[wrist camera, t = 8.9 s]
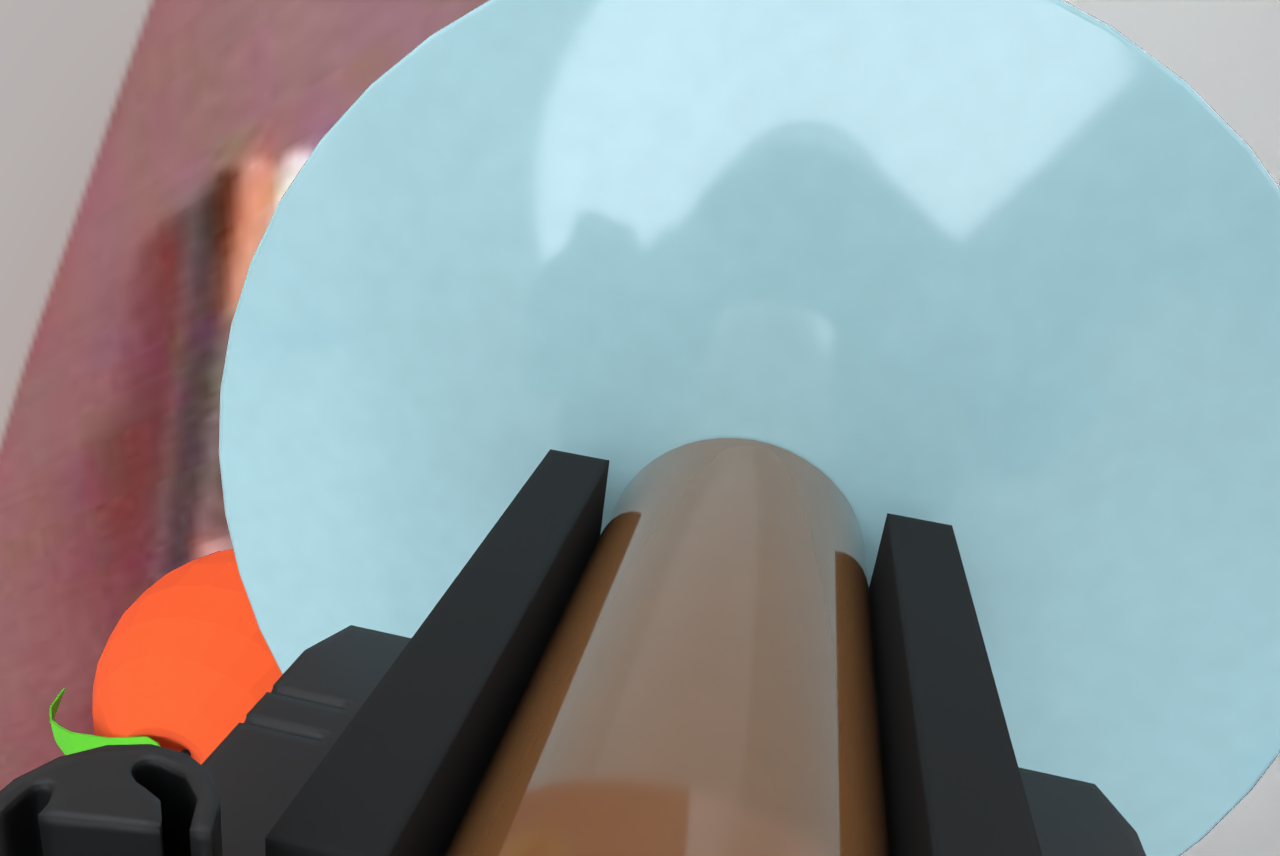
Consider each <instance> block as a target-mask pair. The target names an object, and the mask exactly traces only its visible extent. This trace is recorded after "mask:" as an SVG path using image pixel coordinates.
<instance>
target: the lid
mask: <svg viewBox="0 0 1280 856" xmlns="http://www.w3.org/2000/svg"><path fill="white" fill-rule="evenodd" d="M550 449H552V450H557V451H562V452H568V453H573V454H578V455H584V456H589V457H594V458H599V459H605V460H610V461H609V469H608V477H607V485H606V493H605V501H604V509H603V517H602V526H601V534H600V537H599V539H598V541H597V543H596V545H595V547H594V549H593V551H592V553H591V555H590V557H589V559H588V561H587V563H586V565H585V567H584V569H583V572H582V574H581V576H580V578H579V580H578V582H577V584H576V586H575V588H574V590H573V592H572V594H571V596H570V598H569V600H568V602H567V604H566V606H565V608H564V610H563V612H562V614H561V616H560V619H559V621H558V623H557V625H556V627H555V629H554V631H553V633H552V635H551V637H550V639H549V641H548V643H547V645H546V647H545V649H544V651H543V653H542V655H541V657H540V659H539V661H538V663H537V666H536V668H535V670H534V672H533V674H532V676H531V678H530V680H529V682H528V684H527V686H526V688H525V690H524V692H523V694H522V696H521V698H520V700H519V702H518V704H517V706H516V708H515V711H514V713H513V715H512V717H511V719H510V721H509V723H508V725H507V727H506V729H505V731H504V733H503V735H502V737H501V739H500V741H499V743H498V745H497V747H496V749H495V751H494V753H493V755H492V758H491V760H490V762H489V764H488V766H487V768H486V770H485V772H484V774H483V776H482V778H481V780H480V782H479V784H478V786H477V788H476V790H475V792H474V794H473V796H472V798H471V800H470V802H469V805H468V807H467V809H466V811H465V813H464V815H463V817H462V819H461V821H460V823H459V825H458V827H457V829H456V831H455V833H454V835H453V837H452V839H451V841H450V843H449V845H448V847H447V849H446V852H445V854H444V856H890V846H889V834H888V821H887V809H886V797H885V784H884V772H883V759H882V747H881V735H880V722H879V710H878V698H877V685H876V673H875V661H874V648H873V636H872V624H871V611H870V599H869V586H870V582H871V578H872V574H873V570H874V566H875V562H876V558H877V553H878V549H879V545H880V541H881V537H882V533H883V529H884V525H885V521H886V517H887V513H889V514H895V515H900V516H905V517H911V518H916V519H921V520H926V521H932V522H937V523H942V524H947V525H952V527H953V530H954V534H955V538H956V541H957V545H958V549H959V552H960V556H961V560H962V563H963V567H964V571H965V574H966V578H967V581H968V585H969V589H970V592H971V596H972V600H973V603H974V607H975V611H976V614H977V618H978V622H979V625H980V629H981V633H982V636H983V640H984V644H985V647H986V651H987V655H988V658H989V662H990V665H991V669H992V673H993V676H994V680H995V684H996V687H997V691H998V695H999V698H1000V702H1001V706H1002V709H1003V713H1004V717H1005V720H1006V724H1007V728H1008V731H1009V735H1010V739H1011V742H1012V746H1013V749H1014V753H1015V757H1016V760H1017V764H1018V767H1020V768H1024V769H1029V770H1033V771H1038V772H1043V773H1047V774H1052V775H1056V776H1061V777H1065V778H1070V779H1075V780H1079V781H1084V782H1088V783H1093V784H1095V785H1096V786H1097V787H1098V788H1099V789H1100V790H1101V791H1102V793H1103V794H1104V795H1105V796H1106V797H1107V798H1108V800H1109V801H1110V802H1111V803H1112V804H1113V805H1114V807H1115V808H1116V809H1117V810H1118V811H1119V812H1120V813H1121V815H1122V816H1123V817H1124V818H1125V819H1126V820H1127V822H1128V823H1129V824H1130V825H1131V826H1132V827H1133V828H1134V830H1135V831H1136V832H1137V834H1138V837H1139V839H1140V842H1141V844H1142V847H1143V849H1144V851H1145V854H1146V856H1180V855H1182V854H1183V853H1184V852H1186V851H1187V850H1188V849H1189V848H1191V847H1192V846H1193V845H1195V844H1196V843H1197V842H1199V841H1200V840H1201V839H1202V838H1203V837H1204V836H1206V835H1207V834H1208V833H1209V832H1210V831H1211V830H1212V829H1213V828H1214V827H1215V826H1216V825H1217V824H1218V823H1219V822H1220V821H1221V820H1222V819H1223V818H1224V817H1225V816H1226V815H1227V814H1228V813H1229V812H1230V811H1231V810H1232V809H1233V808H1234V807H1235V806H1236V805H1237V804H1238V803H1239V802H1240V801H1241V800H1242V799H1243V798H1244V797H1245V796H1246V795H1247V794H1248V793H1249V792H1250V791H1251V790H1252V788H1253V787H1254V786H1255V785H1256V783H1257V782H1258V781H1259V779H1260V778H1261V777H1262V775H1263V774H1264V773H1265V771H1266V770H1267V769H1268V768H1269V766H1270V765H1271V764H1272V762H1273V761H1274V760H1275V758H1276V757H1277V756H1278V754H1279V753H1280V188H1279V187H1278V186H1277V184H1276V183H1275V181H1274V180H1273V179H1272V177H1271V176H1270V174H1269V173H1268V171H1267V170H1266V169H1265V167H1264V166H1263V164H1262V163H1261V162H1260V160H1259V159H1258V157H1257V156H1256V155H1255V153H1254V152H1253V150H1252V149H1251V147H1250V146H1249V145H1248V144H1247V143H1246V142H1245V141H1244V140H1243V139H1242V138H1241V137H1240V136H1239V135H1238V134H1237V133H1236V132H1235V131H1234V130H1233V129H1232V128H1231V127H1230V126H1229V125H1228V124H1227V123H1226V122H1225V121H1224V120H1223V119H1222V118H1221V117H1220V116H1219V115H1218V114H1217V113H1216V111H1215V110H1214V109H1213V108H1212V107H1211V106H1210V105H1209V104H1208V103H1207V102H1206V101H1205V100H1204V99H1203V98H1202V97H1201V96H1200V95H1199V94H1198V93H1197V92H1196V91H1195V90H1194V89H1193V88H1192V87H1191V86H1190V85H1189V84H1188V83H1187V82H1186V81H1185V80H1183V79H1182V78H1181V77H1179V76H1178V75H1177V74H1175V73H1174V72H1173V71H1171V70H1170V69H1168V68H1167V67H1166V66H1164V65H1163V64H1162V63H1160V62H1159V61H1158V60H1156V59H1155V58H1154V57H1152V56H1151V55H1150V54H1148V53H1147V52H1146V51H1144V50H1143V49H1142V48H1140V47H1139V46H1138V45H1136V44H1135V43H1134V42H1132V41H1131V40H1129V39H1128V38H1127V37H1125V36H1124V35H1123V34H1121V33H1120V32H1119V31H1117V30H1116V29H1115V28H1113V27H1112V26H1110V25H1108V24H1106V23H1104V22H1103V21H1101V20H1099V19H1097V18H1095V17H1093V16H1091V15H1089V14H1087V13H1086V12H1084V11H1082V10H1080V9H1078V8H1076V7H1074V6H1072V5H1070V4H1069V3H1067V2H1065V1H1063V0H488V1H487V2H485V3H483V4H482V5H480V6H478V7H477V8H475V9H473V10H472V11H470V12H468V13H467V14H465V15H463V16H462V17H460V18H458V19H457V20H455V21H453V22H452V23H450V24H448V25H447V26H445V27H443V28H442V29H440V30H438V31H437V32H435V33H433V34H432V35H430V36H429V37H428V38H427V39H425V40H424V41H423V42H422V43H421V44H419V45H418V46H417V47H416V48H415V49H413V50H412V51H411V52H410V53H408V54H407V55H406V56H405V57H404V58H402V59H401V60H400V61H399V62H397V63H396V64H395V65H394V66H393V67H391V68H390V69H389V70H388V71H386V72H385V73H384V74H383V75H382V76H380V77H379V78H378V79H377V80H376V81H374V82H373V83H372V84H371V85H370V86H369V87H368V88H367V89H366V90H365V91H364V93H363V94H362V95H361V96H360V97H359V98H358V99H357V100H356V101H355V102H354V104H353V105H352V106H351V107H350V108H349V109H348V110H347V111H346V112H345V113H344V115H343V116H342V117H341V118H340V119H339V120H338V121H337V122H336V123H335V124H334V126H333V127H332V128H331V129H330V130H329V131H328V132H327V133H326V134H325V136H324V137H323V138H322V139H321V140H320V142H319V143H318V145H317V146H316V148H315V149H314V151H313V152H312V154H311V155H310V157H309V158H308V160H307V161H306V163H305V164H304V166H303V167H302V169H301V170H300V171H299V173H298V174H297V176H296V177H295V179H294V180H293V182H292V183H291V185H290V186H289V188H288V189H287V191H286V192H285V194H284V195H283V197H282V198H281V200H280V202H279V204H278V207H277V209H276V211H275V213H274V215H273V217H272V219H271V221H270V223H269V225H268V228H267V230H266V232H265V234H264V236H263V238H262V240H261V242H260V244H259V246H258V249H257V251H256V253H255V255H254V257H253V259H252V261H251V263H250V267H249V270H248V273H247V276H246V280H245V283H244V286H243V289H242V292H241V296H240V299H239V302H238V305H237V308H236V312H235V315H234V318H233V321H232V325H231V329H230V335H229V341H228V347H227V354H226V360H225V366H224V372H223V378H222V384H221V392H220V430H219V459H220V468H221V478H222V487H223V497H224V506H225V515H226V519H227V524H228V528H229V532H230V536H231V541H232V545H233V549H234V553H235V558H236V562H237V566H238V570H239V574H240V577H241V580H242V582H243V585H244V588H245V591H246V593H247V596H248V599H249V601H250V604H251V607H252V610H253V612H254V615H255V618H256V621H257V623H258V626H259V629H260V631H261V633H262V635H263V637H264V639H265V641H266V643H267V645H268V647H269V649H270V651H271V653H272V655H273V657H274V659H275V661H276V663H277V665H278V667H279V669H280V671H281V673H282V675H283V674H284V672H285V671H286V670H287V669H288V668H289V667H290V666H291V665H292V664H293V663H294V661H295V660H296V659H297V658H298V657H299V656H300V655H301V654H302V653H303V651H304V650H306V649H308V648H310V647H311V646H313V645H315V644H317V643H319V642H321V641H322V640H324V639H326V638H328V637H330V636H332V635H334V634H335V633H337V632H339V631H341V630H343V629H345V628H347V627H348V626H350V625H353V626H358V627H362V628H367V629H371V630H376V631H380V632H385V633H390V634H394V635H399V636H403V637H408V638H412V637H413V636H414V634H415V633H416V632H417V630H418V629H419V627H420V626H421V625H422V623H423V622H424V621H425V619H426V618H427V617H428V615H429V614H430V612H431V611H432V610H433V608H434V607H435V606H436V604H437V603H438V602H439V600H440V599H441V597H442V596H443V595H444V593H445V592H446V591H447V589H448V588H449V587H450V585H451V584H452V582H453V581H454V580H455V578H456V577H457V576H458V574H459V573H460V572H461V570H462V569H463V567H464V566H465V565H466V563H467V562H468V561H469V559H470V558H471V557H472V555H473V554H474V552H475V551H476V550H477V548H478V547H479V546H480V544H481V543H482V542H483V540H484V539H485V537H486V536H487V535H488V533H489V532H490V531H491V529H492V528H493V527H494V525H495V524H496V523H497V521H498V520H499V518H500V517H501V516H502V514H503V513H504V512H505V510H506V509H507V508H508V506H509V505H510V503H511V502H512V501H513V499H514V498H515V497H516V495H517V494H518V493H519V491H520V490H521V488H522V487H523V486H524V484H525V483H526V482H527V480H528V479H529V478H530V476H531V475H532V473H533V472H534V471H535V469H536V468H537V467H538V465H539V464H540V463H541V461H542V460H543V458H544V457H545V456H546V454H547V453H548V452H549V450H550Z"/></svg>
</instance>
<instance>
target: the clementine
mask: <svg viewBox="0 0 1280 856" xmlns="http://www.w3.org/2000/svg"><path fill="white" fill-rule="evenodd" d="M281 676H282V673H281V671H280V669H279V667H278V665H277V663H276V661H275V659H274V657H273V655H272V653H271V651H270V649H269V647H268V645H267V643H266V641H265V639H264V637H263V635H262V633H261V631H260V629H259V626H258V623H257V621H256V618H255V615H254V612H253V610H252V607H251V604H250V601H249V599H248V596H247V593H246V591H245V588H244V585H243V582H242V580H241V577H240V574H239V570H238V566H237V562H236V558H235V553H234V550H225V551H218V552H215V553H213V554H210V555H207V556H204V557H201V558H198V559H196V560H193V561H191V562H189V563H187V564H185V565H183V566H181V567H179V568H177V569H175V570H173V571H171V572H169V573H168V574H166V575H165V576H163V577H162V578H161V579H160V580H158V581H157V582H156V583H155V584H153V585H152V586H151V587H150V588H148V589H147V590H146V591H145V592H144V593H143V594H142V595H141V596H140V597H139V598H138V599H137V600H136V601H135V602H134V603H133V604H132V605H131V606H130V607H129V608H128V609H127V610H126V612H125V613H124V614H123V615H122V617H121V619H120V620H119V622H118V624H117V625H116V627H115V629H114V630H113V632H112V634H111V635H110V637H109V639H108V642H107V644H106V646H105V648H104V651H103V653H102V655H101V657H100V660H99V662H98V665H97V671H96V676H95V681H94V686H93V722H94V731H95V735H89V734H81V733H74V732H70V731H69V730H67V729H65V728H63V727H61V726H60V725H58V724H57V723H56V722H55V720H54V717H55V714H56V711H57V709H58V706H59V703H60V701H61V698H62V695H63V693H64V690H65V688H63V689H62V691H61V692H60V694H59V695H58V696H57V698H56V699H55V700H54V702H53V703H52V705H51V706H50V707H49V710H50V723H51V726H52V730H53V734H54V738H55V741H56V743H57V744H58V746H59V747H60V748H61V750H62V751H63V753H64V754H65V755H69V754H73V753H77V752H81V751H85V750H89V749H93V748H97V747H101V746H105V745H131V744H152V745H156V746H160V747H164V748H168V749H171V750H175V751H179V752H183V753H187V754H188V755H189V756H191V757H192V758H193V759H194V760H196V761H197V762H198V763H199V764H202V763H203V762H204V761H205V760H206V759H207V758H208V757H209V756H210V754H211V753H212V752H213V751H214V750H215V749H216V748H217V747H218V746H219V744H220V743H221V742H222V741H223V740H224V739H225V738H226V737H227V736H228V734H229V733H230V732H231V731H232V730H233V729H234V728H235V727H236V726H237V725H238V723H239V722H240V723H244V721H245V719H246V715H247V713H248V712H249V711H250V710H251V709H252V708H253V707H254V706H255V705H256V703H257V702H258V701H259V700H260V699H261V698H262V697H263V696H264V695H265V694H266V692H269V693H271V691H272V689H273V685H274V684H275V682H276V681H277V680H278V679H279V678H280V677H281Z"/></svg>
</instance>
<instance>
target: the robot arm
mask: <svg viewBox="0 0 1280 856" xmlns="http://www.w3.org/2000/svg"><path fill="white" fill-rule="evenodd" d="M609 461H610V460H605V459H599V458H594V457H589V456H584V455H578V454H573V453H568V452H562V451H557V450H552V449H550V450H549V452H548V453H547V454H546V456H545V457H544V458H543V460H542V461H541V463H540V464H539V465H538V467H537V468H536V469H535V471H534V472H533V473H532V475H531V476H530V478H529V479H528V480H527V482H526V483H525V484H524V486H523V487H522V488H521V490H520V491H519V493H518V494H517V495H516V497H515V498H514V499H513V501H512V502H511V503H510V505H509V506H508V508H507V509H506V510H505V512H504V513H503V514H502V516H501V517H500V518H499V520H498V521H497V523H496V524H495V525H494V527H493V528H492V529H491V531H490V532H489V533H488V535H487V536H486V537H485V539H484V540H483V542H482V543H481V544H480V546H479V547H478V548H477V550H476V551H475V552H474V554H473V555H472V557H471V558H470V559H469V561H468V562H467V563H466V565H465V566H464V567H463V569H462V570H461V572H460V573H459V574H458V576H457V577H456V578H455V580H454V581H453V582H452V584H451V585H450V587H449V588H448V589H447V591H446V592H445V593H444V595H443V596H442V597H441V599H440V600H439V602H438V603H437V604H436V606H435V607H434V608H433V610H432V611H431V612H430V614H429V615H428V617H427V618H426V619H425V621H424V622H423V623H422V625H421V626H420V627H419V629H418V630H417V632H416V633H415V634H414V636H413V637H412V638H408V637H403V636H399V635H394V634H390V633H385V632H380V631H376V630H371V629H367V628H362V627H358V626H353V625H350V626H348V627H347V628H345V629H343V630H341V631H339V632H337V633H335V634H334V635H332V636H330V637H328V638H326V639H324V640H322V641H321V642H319V643H317V644H315V645H313V646H311V647H310V648H308V649H306V650H304V651H303V653H302V654H301V655H300V656H299V657H298V658H297V659H296V660H295V661H294V663H293V664H292V665H291V666H290V667H289V668H288V669H287V670H286V671H285V672H284V674H283V675H282V676H281V677H280V678H279V679H278V680H277V681H276V682H275V684H274V685H273V689H272V691H271V693H269V692H266V694H265V695H264V696H263V697H262V698H261V699H260V700H259V701H258V702H257V703H256V705H255V706H254V707H253V708H252V709H251V710H250V711H249V712H248V713H247V715H246V719H245V721H244V723H240V722H239V723H238V725H237V726H236V727H235V728H234V729H233V730H232V731H231V732H230V733H229V734H228V736H227V737H226V738H225V739H224V740H223V741H222V742H221V743H220V744H219V746H218V747H217V748H216V749H215V750H214V751H213V752H212V753H211V754H210V756H209V757H208V758H207V759H206V760H205V761H204V762H203V763H202V764H199V763H198V762H197V761H196V760H194V759H193V758H192V757H191V756H189V755H188V754H187V753H183V752H179V751H175V750H171V749H168V748H164V747H160V746H156V745H152V744H131V745H105V746H101V747H97V748H93V749H89V750H85V751H81V752H77V753H73V754H69V755H65V756H61V757H59V758H56V759H54V760H52V761H50V762H48V763H46V764H44V765H42V766H40V767H38V768H36V769H34V770H32V771H30V772H28V773H26V774H24V775H22V776H20V777H18V778H16V779H14V780H13V781H12V782H11V783H10V784H8V785H7V786H6V787H5V788H4V789H2V790H1V791H0V856H444V854H445V852H446V849H447V847H448V845H449V843H450V841H451V839H452V837H453V835H454V833H455V831H456V829H457V827H458V825H459V823H460V821H461V819H462V817H463V815H464V813H465V811H466V809H467V807H468V805H469V802H470V800H471V798H472V796H473V794H474V792H475V790H476V788H477V786H478V784H479V782H480V780H481V778H482V776H483V774H484V772H485V770H486V768H487V766H488V764H489V762H490V760H491V758H492V755H493V753H494V751H495V749H496V747H497V745H498V743H499V741H500V739H501V737H502V735H503V733H504V731H505V729H506V727H507V725H508V723H509V721H510V719H511V717H512V715H513V713H514V711H515V708H516V706H517V704H518V702H519V700H520V698H521V696H522V694H523V692H524V690H525V688H526V686H527V684H528V682H529V680H530V678H531V676H532V674H533V672H534V670H535V668H536V666H537V663H538V661H539V659H540V657H541V655H542V653H543V651H544V649H545V647H546V645H547V643H548V641H549V639H550V637H551V635H552V633H553V631H554V629H555V627H556V625H557V623H558V621H559V619H560V616H561V614H562V612H563V610H564V608H565V606H566V604H567V602H568V600H569V598H570V596H571V594H572V592H573V590H574V588H575V586H576V584H577V582H578V580H579V578H580V576H581V574H582V572H583V569H584V567H585V565H586V563H587V561H588V559H589V557H590V555H591V553H592V551H593V549H594V547H595V545H596V543H597V541H598V539H599V537H600V534H601V526H602V517H603V509H604V501H605V493H606V485H607V477H608V469H609ZM869 599H870V611H871V624H872V636H873V648H874V661H875V673H876V685H877V698H878V710H879V722H880V735H881V747H882V759H883V772H884V784H885V797H886V809H887V821H888V834H889V846H890V856H1146V854H1145V851H1144V849H1143V847H1142V844H1141V842H1140V839H1139V837H1138V834H1137V832H1136V831H1135V830H1134V828H1133V827H1132V826H1131V825H1130V824H1129V823H1128V822H1127V820H1126V819H1125V818H1124V817H1123V816H1122V815H1121V813H1120V812H1119V811H1118V810H1117V809H1116V808H1115V807H1114V805H1113V804H1112V803H1111V802H1110V801H1109V800H1108V798H1107V797H1106V796H1105V795H1104V794H1103V793H1102V791H1101V790H1100V789H1099V788H1098V787H1097V786H1096V785H1095V784H1093V783H1088V782H1084V781H1079V780H1075V779H1070V778H1065V777H1061V776H1056V775H1052V774H1047V773H1043V772H1038V771H1033V770H1029V769H1024V768H1020V767H1018V764H1017V760H1016V757H1015V753H1014V749H1013V746H1012V742H1011V739H1010V735H1009V731H1008V728H1007V724H1006V720H1005V717H1004V713H1003V709H1002V706H1001V702H1000V698H999V695H998V691H997V687H996V684H995V680H994V676H993V673H992V669H991V665H990V662H989V658H988V655H987V651H986V647H985V644H984V640H983V636H982V633H981V629H980V625H979V622H978V618H977V614H976V611H975V607H974V603H973V600H972V596H971V592H970V589H969V585H968V581H967V578H966V574H965V571H964V567H963V563H962V560H961V556H960V552H959V549H958V545H957V541H956V538H955V534H954V530H953V527H952V525H947V524H942V523H937V522H932V521H926V520H921V519H916V518H911V517H905V516H900V515H895V514H889V513H887V517H886V521H885V525H884V529H883V533H882V537H881V541H880V545H879V549H878V553H877V558H876V562H875V566H874V570H873V574H872V578H871V582H870V586H869Z"/></svg>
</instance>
